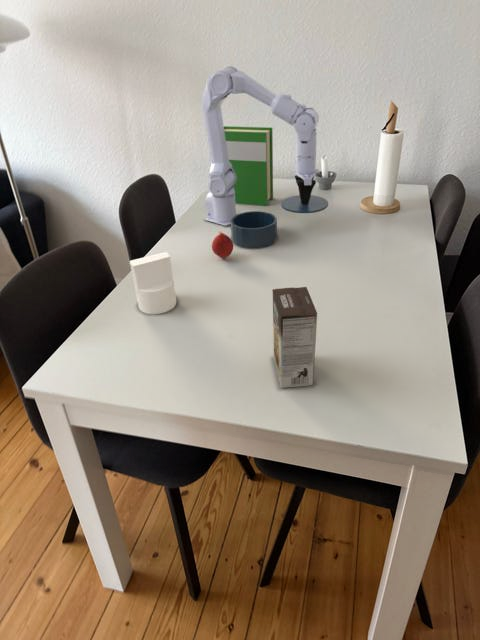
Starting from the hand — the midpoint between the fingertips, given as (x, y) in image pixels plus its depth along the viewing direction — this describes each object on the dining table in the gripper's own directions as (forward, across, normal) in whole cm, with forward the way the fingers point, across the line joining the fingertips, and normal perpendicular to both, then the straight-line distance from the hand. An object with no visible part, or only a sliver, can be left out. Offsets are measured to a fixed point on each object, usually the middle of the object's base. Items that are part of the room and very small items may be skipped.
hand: (304, 201), depth 143 cm
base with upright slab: (+8, -42, +40) cm, 59 cm away
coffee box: (+8, -69, +9) cm, 70 cm away
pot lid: (+1, 0, 0) cm, 1 cm away
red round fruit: (+8, -20, +24) cm, 32 cm away
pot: (+8, -8, +16) cm, 19 cm away
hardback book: (+8, +26, +18) cm, 32 cm away
